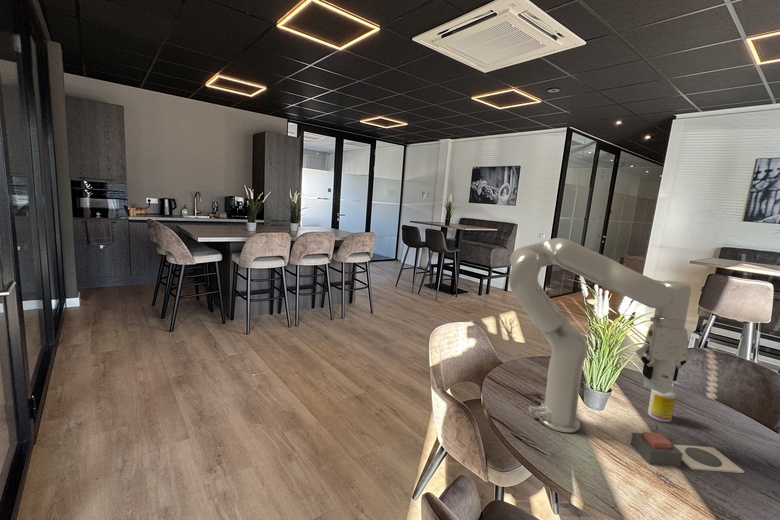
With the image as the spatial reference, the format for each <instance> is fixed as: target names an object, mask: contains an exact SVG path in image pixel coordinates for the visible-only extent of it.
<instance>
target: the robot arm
mask: <svg viewBox="0 0 780 520" xmlns="http://www.w3.org/2000/svg"><path fill="white" fill-rule="evenodd" d="M509 262H510V266H511V270H510V273H509V279H508V280H509V288H510V290H511V293H512V295H513V297H514V298H515V299H516V301H517V302H518V303H519V305H520V306H521V308H522V309H523V310H524V311H525V312H526V314H527V316H528V318H529V319H530V321H531V322H532V324H533V325H534V326H535V327H536V328H537V329H538V330H539V331H540V333H541V334H542V335H543V336H544V338H545V339H546V340H547V343H549V344H550V346H551V348H552V352H551V357H550V359H549V363H548V369H547V379H546V381H547V382H546V389H545V397H544V402H541V404H540V405H538V406H532V405H530V406H528V412H529V413H532V414H533V413H535V414H534V415H535V416H536V417H537V418H538V417H539V418H538V420H539V421H540V422H541V423H542V424H543V425H545V426H546V427H548V428H550V429H552V430H554V431H558V432H561V433H562V432H563V433H568V434H569V433H576V432H578V431H579V430H580V429H581V421H580V420H579V419H578V417H577V413H578V412H577V411H578V403H579V396H580V389H581V388H580V387H581V380H582V372H583V367H584V364H585V363H584V362H585V360H586V357H587V354H588V353H587V352H588V345H587V343H586V340H585V338H584V336H583V335H582V334H581V333H580V332H579V331H578V330H577V329H576V328H575V327H574V326H573V325H572V323H570V321H569V320H568V319H567V318H566V316H565V315H564V314H563V312H562V310H561V308H560V306H558V304H557V303H555V301H554V300H552V299H551V298H550V297H549V295H548V294H547V293H546V291H545V290H544V288H543V287H542V286H541V284H540V283H539V274H540V271H541V269H542V268H544V267H547V266H551V265H556V266H558V267H560V268H563V269H565V270H567V271H569V272H571V273H573V274H576V275H578V276H580V277H582V278H584V279H586V280H588V281H590V282H592V283H594V284H597V285H598V286H600V287H603V288H606V289H609V290H611V291H614V292H616V293H618V294H620V295H623V296H624V297H627V298H629V299H631V300H633V301H636V302H637V303H639V304H642V306H643V305H644V306H646V307H648V308H650V309H654V314H653V316H652V317H650V318H649V320H650V322H652V323H650V325H649V327H648V330H647V333H646V336H645V339H644V343H648V344H643V345H642V346H641V347H640V348H638V349H637V350H635V354H636V355H637V356H638V358H639V359H640V361H641V362H642V363H643V366H642V376H644V378H645V377H646V378H648V379H652V374H653V367H652V365H653V363H654V362H655V360H663V361H668V360H669V356H674V357H675V358H674V361H677V364H676V368H675V373H674V378H673V382H676V381H677V378H678V374H679V369H680V370H681V369H682V366H684V365H685V364H686V363H687V362H688V361H689V360H691V359H692V355H691V354H690V353H689V351H688V347H689V346H688V343H689V342H688V341H689V340H688V339H689V338H688V337H689V335H688V329H687V328H685V327H686V323H687V322H686V321H687V316H688V312H689V306H690V301H691V299H690V298H691V296H692V286H691V285H690V284H688V283H685V282H683V281H682V282H681V281H676V280H658V279H653V278H651V277H649V276H646V275H644V274H642V273H640V272H638V271H635V270H633V269H632V268H629V267H627V266H625V265H623V264H621V263H619V262H618V261H616V260H614V259H611V258H609V257H607V256H605V255H603V254H601V253H599V252H597V251H594V250H592V249H590V248H588V247H586V246H583V245H582V244H580V243H577V242H574V241H573V240H571V239H567V238H562V237H555V238H551V239H547V240H544V241H540V242H536V243H533V244H529V245H528V244H527V245H525V246H522V247H519V248H516V249H515V250H514V251H513V252H512V253H511V254H510V257H509ZM660 318H664V319H660ZM650 358H651V359H650ZM649 359H650V360H649ZM648 360H649V361H648Z"/></svg>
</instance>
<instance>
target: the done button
mask: <svg viewBox="0 0 780 520" xmlns="http://www.w3.org/2000/svg"><path fill="white" fill-rule="evenodd" d="M642 433H643V437H642V438H643V439H644V440H645V441H646V442H647V443H648V444H649V445H650V446H651V447H652V448H658V449H671V447H672V444H673V443H672V442H671V441H670V440H669V439H668V438H666V436H664V435H663V434H662V433H661V432H650V431H649V432H648V431H643V432H642Z"/></svg>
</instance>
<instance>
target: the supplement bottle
mask: <svg viewBox="0 0 780 520" xmlns="http://www.w3.org/2000/svg"><path fill="white" fill-rule="evenodd" d="M673 389H674V383H673V382H672V387H671V391H670V392H668V393H666V394H662V393H659V392H657V391H655V390H652V389H650V396H649V402H648V408H647V409H648V410H647V414H648V415H649V416H650V417H651V418H652V419H654V420H656V421H658V422H661V423H671V421H672V420H673V415H674V414H673V413H674V407H675V401H676V393H675V391H673Z"/></svg>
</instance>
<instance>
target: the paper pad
mask: <svg viewBox="0 0 780 520" xmlns="http://www.w3.org/2000/svg"><path fill="white" fill-rule="evenodd" d="M673 445H674V446H675V447H676V448H677V449H678V450H679V451H680V452H682V453H683V454H682V460H681V462H683V463H684V464H685V465H686V466H687V467H688V469H690V470H693V471H694V470H696V471H707V472H708V471H709V472H724V473H737V474H744V473H745V471H744V470H743V469H742V468H741V467H739V466H738V465H736V464H735V463H734V462H733V461H731V460H730V458H728V457H727V456H725V455H724V454H723V453H721V452H720V451H719V450H717V448H715V447H714V446H713V447H711V446H697V445H686V444H684V445H683V444H673Z"/></svg>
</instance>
